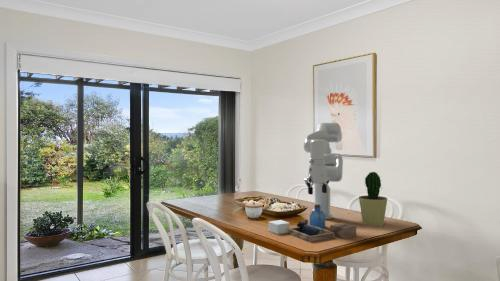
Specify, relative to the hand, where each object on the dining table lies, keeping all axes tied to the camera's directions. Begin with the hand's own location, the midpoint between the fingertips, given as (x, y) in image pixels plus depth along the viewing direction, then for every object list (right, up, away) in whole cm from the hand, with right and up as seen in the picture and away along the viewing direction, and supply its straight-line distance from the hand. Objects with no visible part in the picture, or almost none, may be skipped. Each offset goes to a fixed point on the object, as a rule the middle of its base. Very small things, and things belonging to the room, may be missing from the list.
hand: (317, 193), depth 201 cm
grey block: (-22, -19, -10) cm, 30 cm away
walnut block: (+9, -18, -19) cm, 28 cm away
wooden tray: (-7, -18, -19) cm, 27 cm away
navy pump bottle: (-7, -19, -18) cm, 27 cm away
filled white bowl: (-35, -19, +25) cm, 47 cm away
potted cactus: (+33, -18, +7) cm, 38 cm away
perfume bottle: (0, -19, 0) cm, 19 cm away
